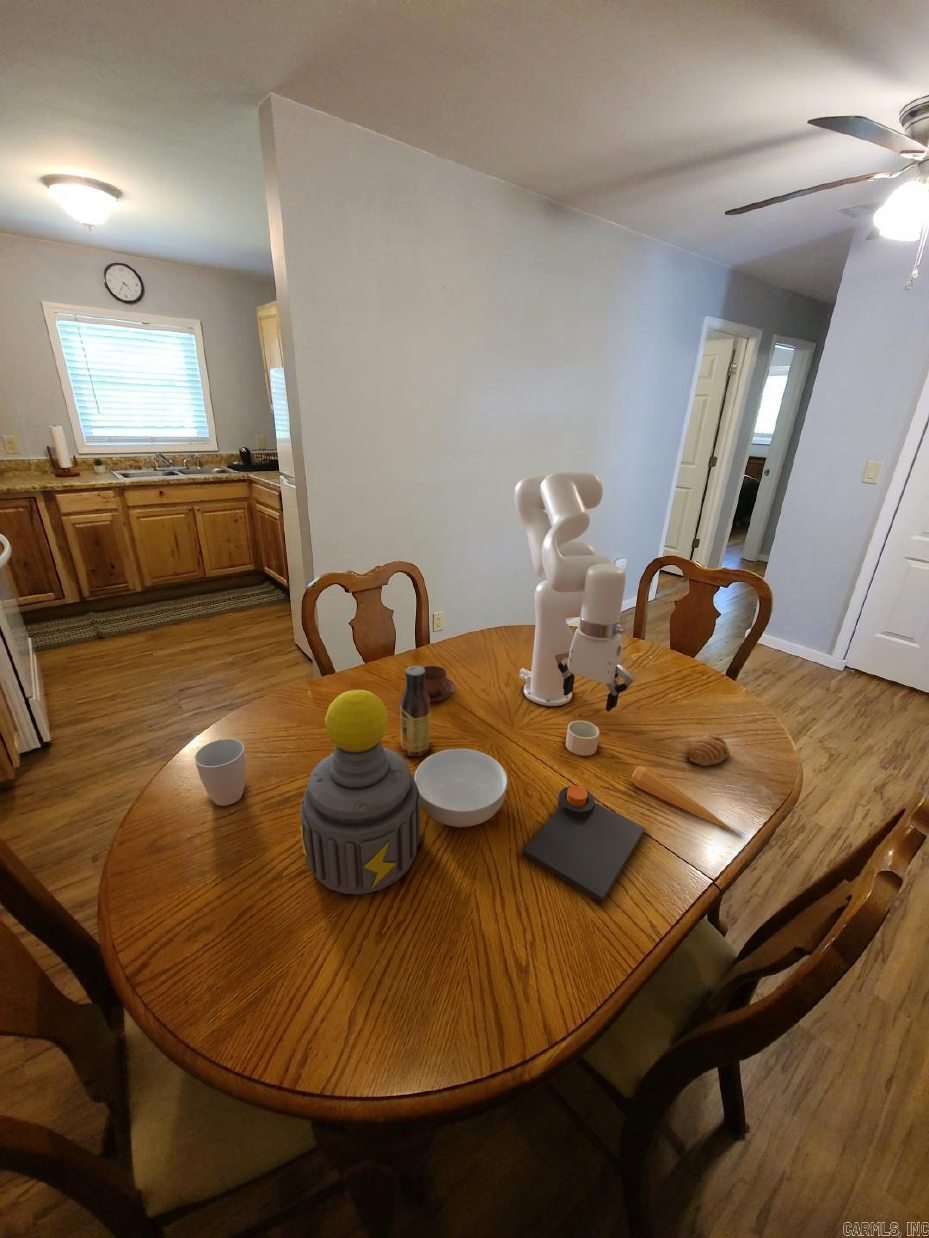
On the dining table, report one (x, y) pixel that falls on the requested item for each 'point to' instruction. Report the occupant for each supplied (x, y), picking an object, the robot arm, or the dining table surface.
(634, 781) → the carrot
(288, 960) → the dining table surface
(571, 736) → the small bowl
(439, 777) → the cereal bowl
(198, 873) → the dining table surface
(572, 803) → the power button
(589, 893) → the scale
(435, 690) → the cup and saucer
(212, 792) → the cup
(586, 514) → the robot arm
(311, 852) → the decorative lamp
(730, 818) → the dining table surface
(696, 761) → the pastry
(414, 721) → the sauce bottle
